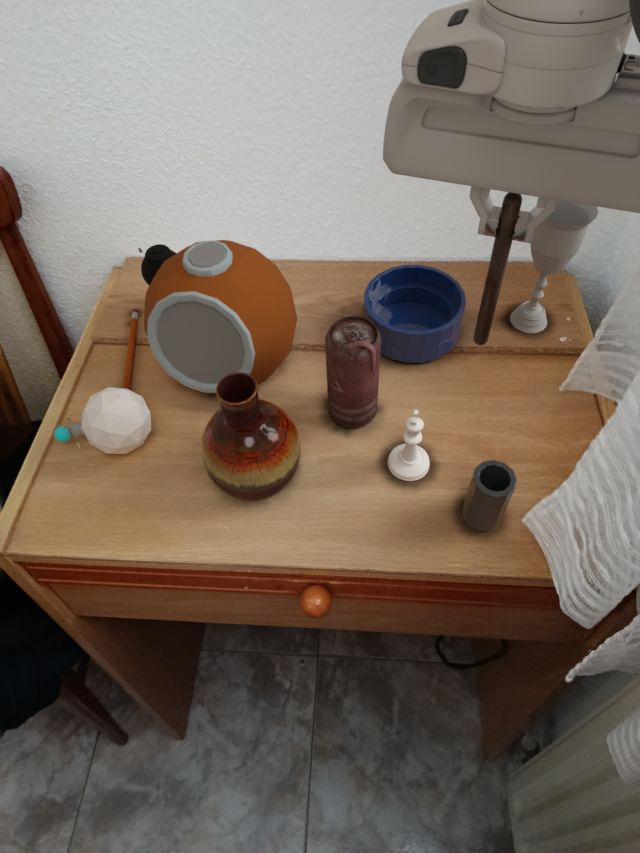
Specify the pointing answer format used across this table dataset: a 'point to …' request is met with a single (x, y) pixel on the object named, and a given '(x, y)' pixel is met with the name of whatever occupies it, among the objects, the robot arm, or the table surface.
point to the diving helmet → (219, 314)
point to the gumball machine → (154, 260)
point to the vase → (249, 441)
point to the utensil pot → (488, 495)
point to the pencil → (130, 349)
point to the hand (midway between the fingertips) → (504, 234)
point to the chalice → (552, 256)
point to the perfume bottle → (111, 422)
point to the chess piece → (410, 453)
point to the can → (352, 370)
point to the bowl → (415, 312)
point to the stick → (497, 266)
